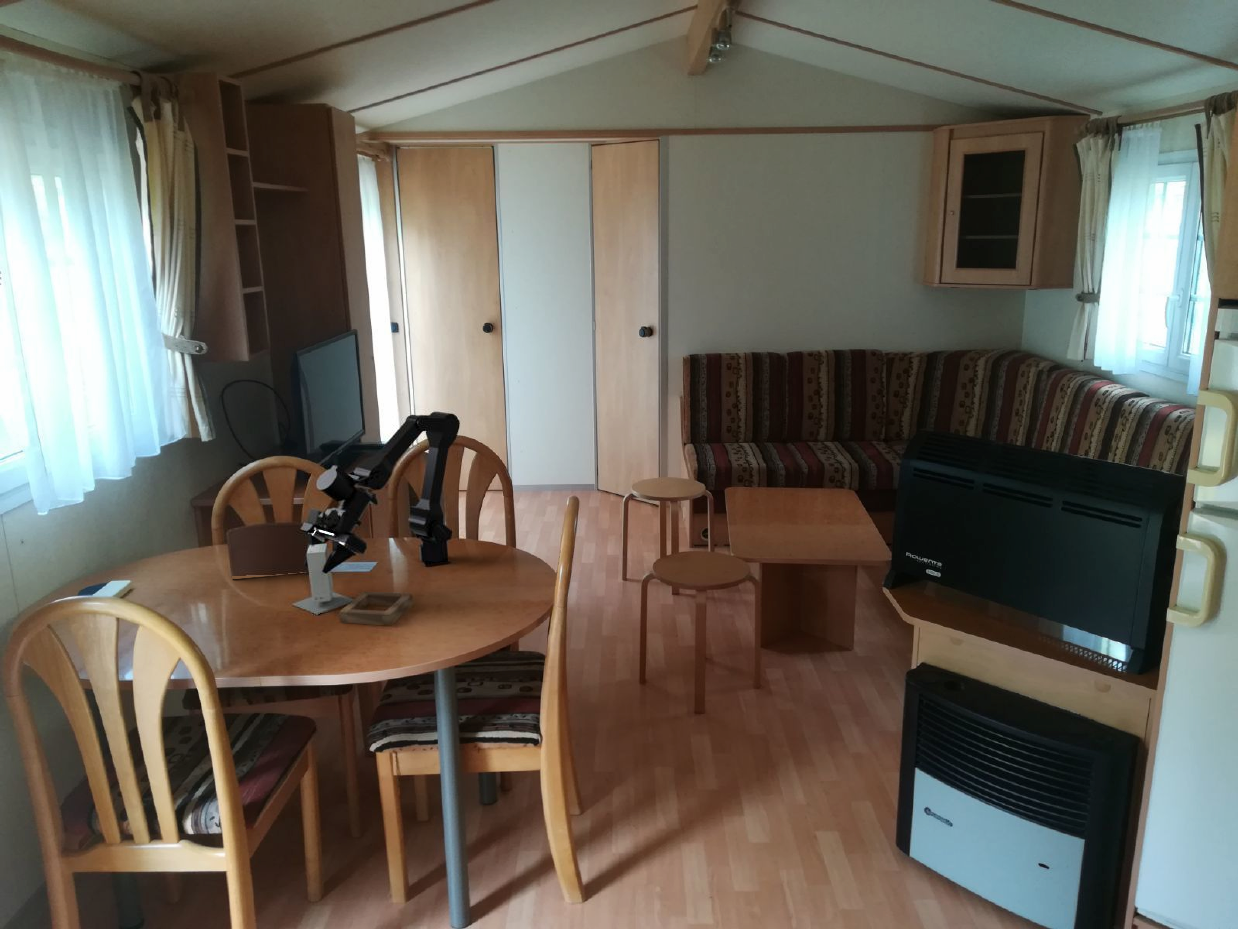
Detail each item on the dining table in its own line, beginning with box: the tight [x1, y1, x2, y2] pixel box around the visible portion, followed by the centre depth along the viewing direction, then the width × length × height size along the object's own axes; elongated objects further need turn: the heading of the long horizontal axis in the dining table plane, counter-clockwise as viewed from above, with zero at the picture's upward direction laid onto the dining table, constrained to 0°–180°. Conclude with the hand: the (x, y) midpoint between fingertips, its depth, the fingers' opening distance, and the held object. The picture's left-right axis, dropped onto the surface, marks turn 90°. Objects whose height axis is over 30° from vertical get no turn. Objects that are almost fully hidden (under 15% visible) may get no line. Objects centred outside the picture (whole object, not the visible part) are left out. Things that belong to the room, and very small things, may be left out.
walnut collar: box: [338, 591, 414, 626], centre depth 206 cm, size 12×12×2 cm
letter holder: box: [225, 521, 309, 577], centre depth 235 cm, size 10×20×14 cm, turn 102°
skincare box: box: [307, 543, 334, 602], centre depth 211 cm, size 6×4×12 cm
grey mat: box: [291, 591, 355, 616], centre depth 213 cm, size 10×10×1 cm
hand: (314, 569), depth 210 cm, fingers closed on skincare box, 7 cm apart
